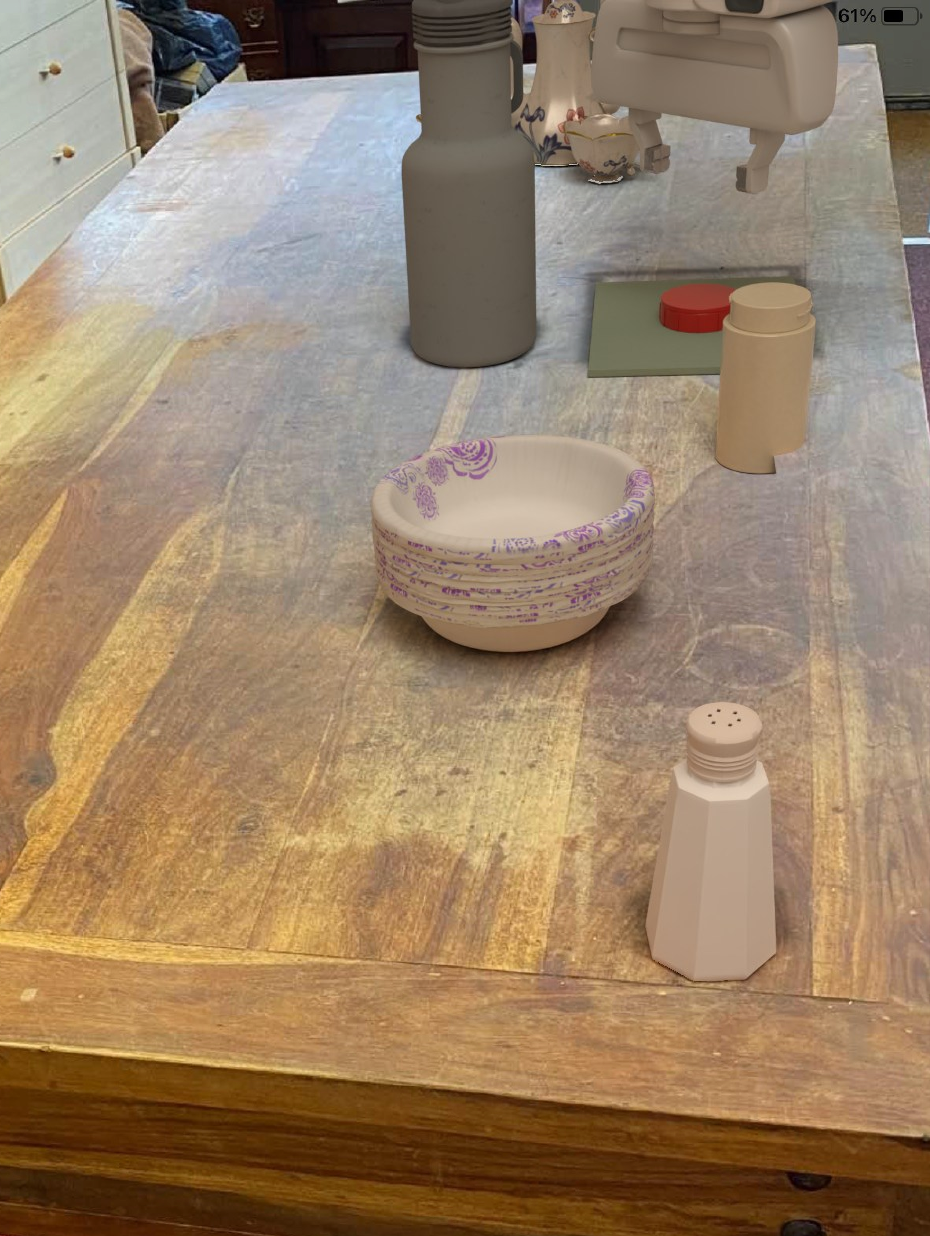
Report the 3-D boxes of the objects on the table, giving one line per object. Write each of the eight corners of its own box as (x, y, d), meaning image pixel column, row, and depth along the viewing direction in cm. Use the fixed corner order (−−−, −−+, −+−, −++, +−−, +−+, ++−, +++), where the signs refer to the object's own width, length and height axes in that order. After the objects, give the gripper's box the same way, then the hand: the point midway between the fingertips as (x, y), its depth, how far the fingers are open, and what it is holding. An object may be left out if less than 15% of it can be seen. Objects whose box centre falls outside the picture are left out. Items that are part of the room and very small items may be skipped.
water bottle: (433, 322, 132) (414, -62, 116) (550, 326, 129) (548, -68, 113) (395, 368, 124) (370, -38, 108) (519, 373, 121) (512, -44, 105)
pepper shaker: (627, 969, 66) (634, 744, 60) (661, 890, 70) (670, 671, 64) (762, 998, 64) (783, 768, 58) (789, 915, 68) (811, 691, 62)
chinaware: (396, 190, 171) (378, 23, 161) (468, 134, 182) (455, -26, 171) (644, 209, 158) (642, 28, 148) (707, 147, 168) (709, -26, 158)
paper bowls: (453, 536, 100) (448, 413, 95) (690, 576, 93) (696, 446, 88) (329, 651, 89) (316, 520, 85) (586, 707, 83) (587, 567, 78)
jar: (800, 438, 107) (813, 278, 101) (807, 473, 103) (822, 308, 97) (713, 440, 108) (722, 281, 102) (717, 474, 104) (726, 311, 98)
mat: (793, 282, 132) (793, 275, 132) (812, 372, 117) (813, 364, 116) (595, 289, 135) (595, 282, 135) (587, 377, 119) (587, 369, 119)
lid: (696, 339, 122) (697, 315, 121) (643, 320, 127) (644, 296, 126) (756, 319, 125) (758, 295, 124) (702, 301, 129) (703, 278, 128)
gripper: (571, -30, 117) (571, 169, 125) (796, -9, 103) (780, 214, 111) (633, -44, 120) (629, 151, 128) (861, -26, 106) (840, 192, 114)
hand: (701, 181), depth 119 cm, fingers open, 8 cm apart
